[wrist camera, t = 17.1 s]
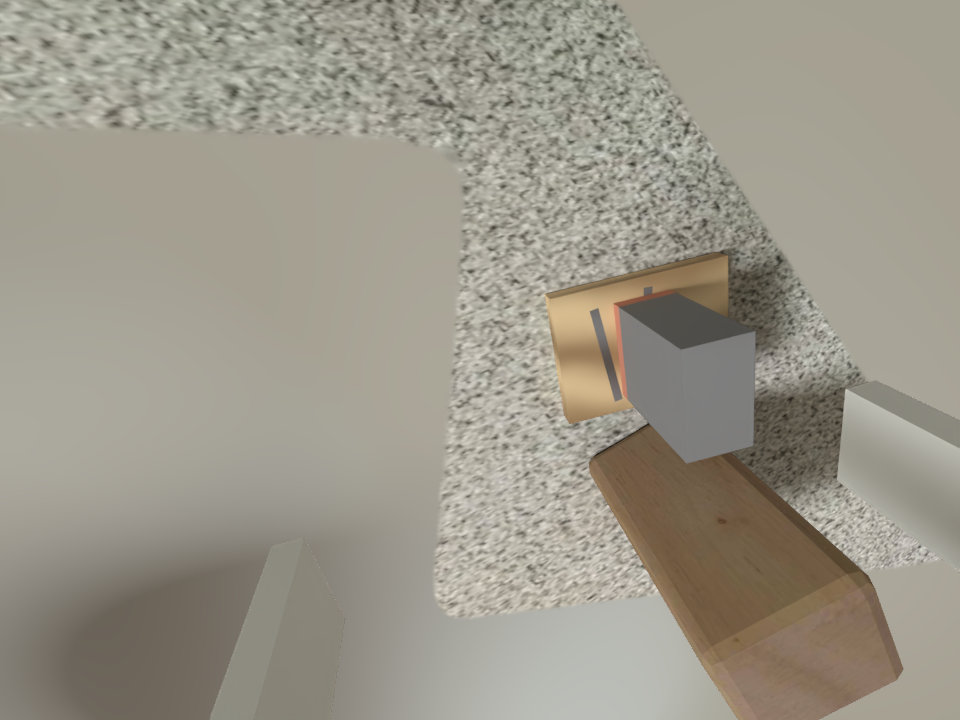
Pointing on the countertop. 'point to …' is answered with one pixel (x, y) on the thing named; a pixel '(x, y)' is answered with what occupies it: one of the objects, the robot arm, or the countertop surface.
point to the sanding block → (688, 373)
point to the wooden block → (749, 582)
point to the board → (592, 330)
